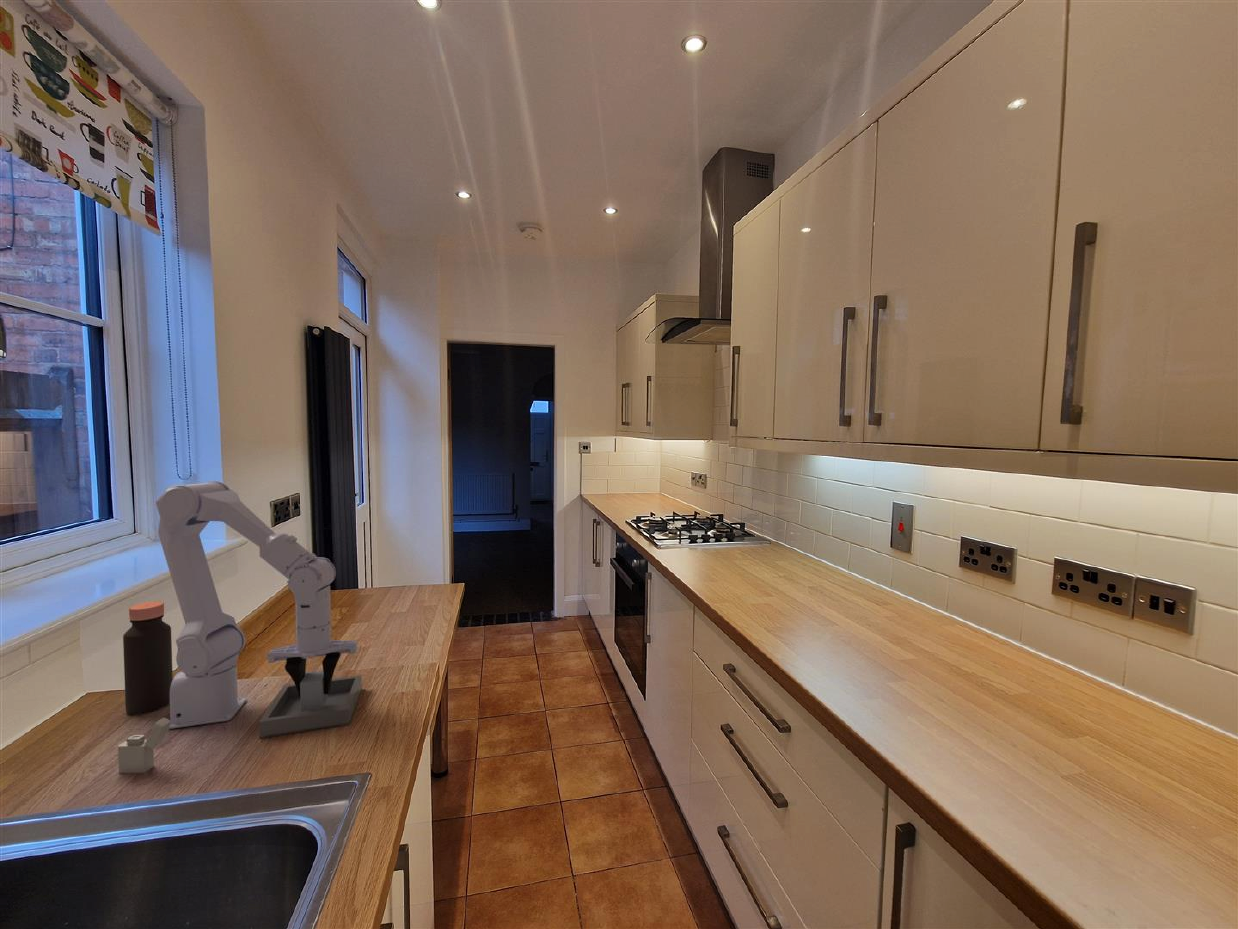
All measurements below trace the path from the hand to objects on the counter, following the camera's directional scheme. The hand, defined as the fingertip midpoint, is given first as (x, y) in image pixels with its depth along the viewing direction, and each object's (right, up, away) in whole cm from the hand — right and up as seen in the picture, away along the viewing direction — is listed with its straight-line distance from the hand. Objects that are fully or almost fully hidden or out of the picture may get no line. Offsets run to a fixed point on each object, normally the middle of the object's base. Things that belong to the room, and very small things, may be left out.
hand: (314, 693), depth 96 cm
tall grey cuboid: (0, -2, 0) cm, 2 cm away
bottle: (-33, -4, +2) cm, 33 cm away
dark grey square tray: (0, -4, 0) cm, 4 cm away
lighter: (-16, -4, -17) cm, 24 cm away
